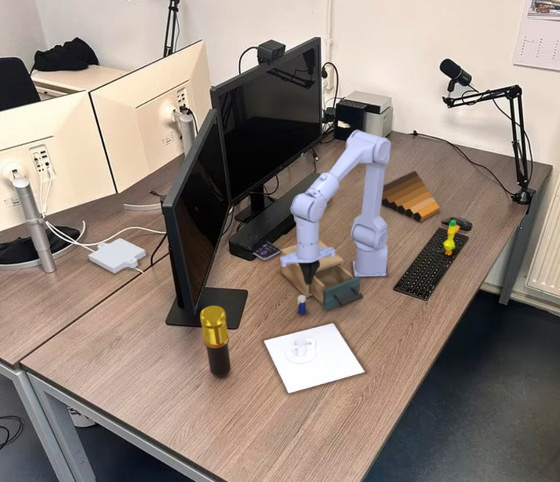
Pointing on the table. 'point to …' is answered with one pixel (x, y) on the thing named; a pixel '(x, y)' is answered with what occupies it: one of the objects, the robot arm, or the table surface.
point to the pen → (302, 304)
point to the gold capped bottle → (216, 340)
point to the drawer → (335, 287)
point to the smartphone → (267, 251)
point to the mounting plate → (117, 255)
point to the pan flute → (409, 197)
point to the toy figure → (450, 237)
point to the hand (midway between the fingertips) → (307, 282)
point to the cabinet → (295, 272)
